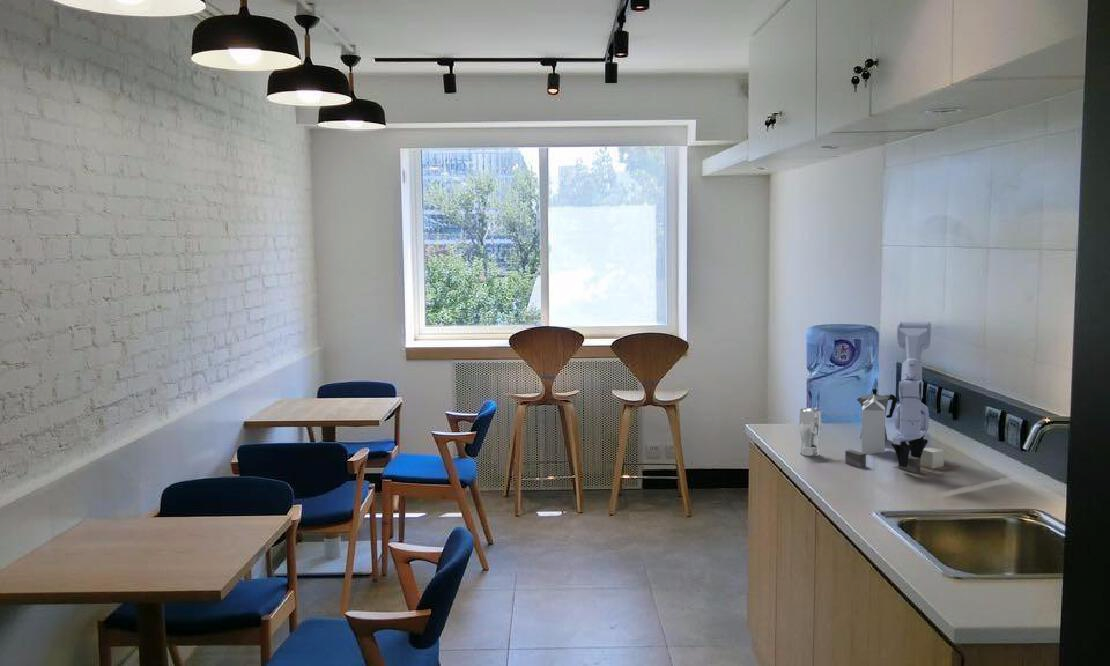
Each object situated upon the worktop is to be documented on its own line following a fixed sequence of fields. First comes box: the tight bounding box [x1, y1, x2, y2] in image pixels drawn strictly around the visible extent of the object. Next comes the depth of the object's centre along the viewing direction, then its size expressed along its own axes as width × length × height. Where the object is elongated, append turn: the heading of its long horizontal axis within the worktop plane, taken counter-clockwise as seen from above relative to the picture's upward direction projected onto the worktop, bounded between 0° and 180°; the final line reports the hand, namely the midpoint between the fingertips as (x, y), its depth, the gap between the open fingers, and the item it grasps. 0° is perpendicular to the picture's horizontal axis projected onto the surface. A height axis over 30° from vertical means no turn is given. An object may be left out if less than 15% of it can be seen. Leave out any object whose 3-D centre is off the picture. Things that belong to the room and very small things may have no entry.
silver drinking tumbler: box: [798, 407, 822, 458], centre depth 295 cm, size 7×7×15 cm
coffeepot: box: [856, 388, 898, 442], centre depth 314 cm, size 15×9×18 cm, turn 103°
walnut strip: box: [892, 456, 960, 476], centre depth 272 cm, size 18×10×5 cm, turn 118°
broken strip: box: [844, 449, 867, 468], centre depth 279 cm, size 18×9×5 cm, turn 118°
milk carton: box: [860, 395, 886, 456], centre depth 294 cm, size 7×7×19 cm
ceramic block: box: [920, 446, 945, 469], centre depth 273 cm, size 5×5×5 cm
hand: (909, 464), depth 268 cm, fingers open, 6 cm apart
